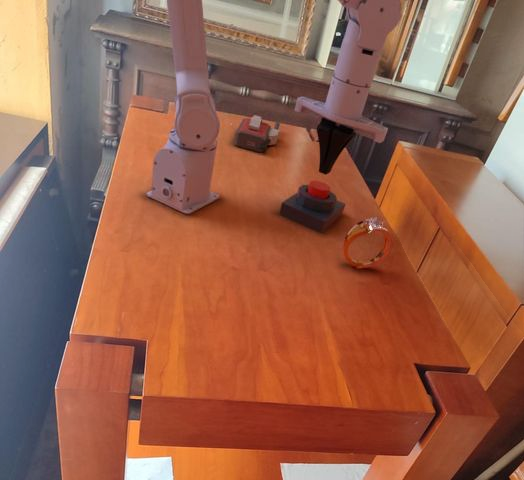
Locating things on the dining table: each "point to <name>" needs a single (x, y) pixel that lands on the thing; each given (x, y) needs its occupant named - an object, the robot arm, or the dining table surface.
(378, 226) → the ring
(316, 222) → the switch box
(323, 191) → the light button
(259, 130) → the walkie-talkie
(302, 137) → the dining table surface
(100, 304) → the dining table surface
